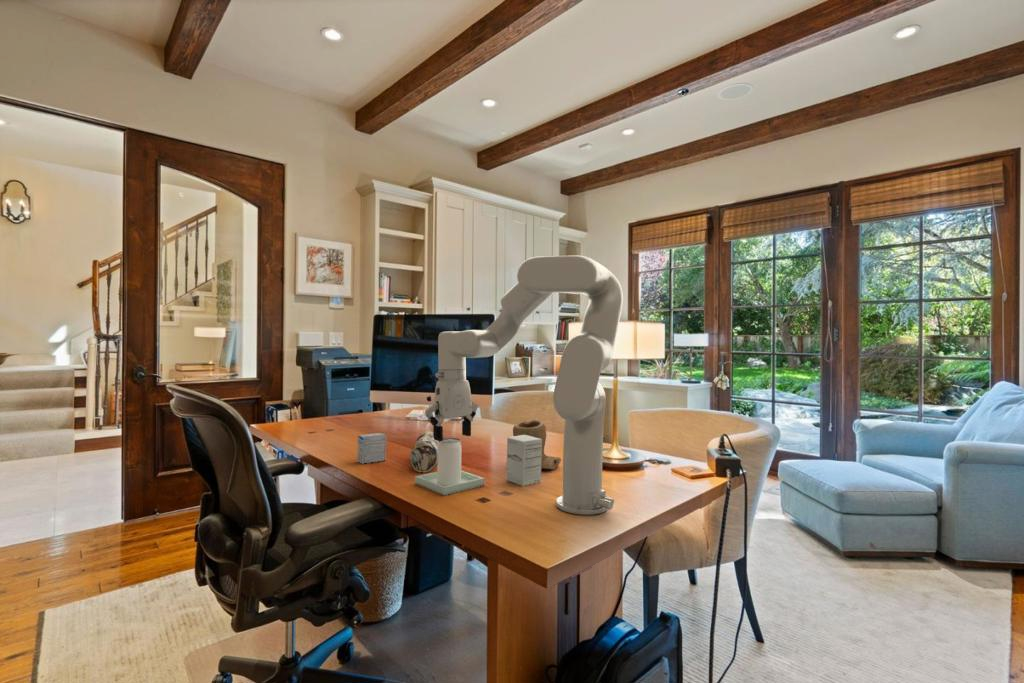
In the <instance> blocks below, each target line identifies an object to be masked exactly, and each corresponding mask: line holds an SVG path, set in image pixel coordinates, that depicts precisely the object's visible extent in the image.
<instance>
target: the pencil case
mask: <svg viewBox="0 0 1024 683" xmlns="http://www.w3.org/2000/svg"><path fill="white" fill-rule="evenodd" d="M415 441H416V442H415V445H414V446H413V447H412V448H411V450H410V453H409V459H410V462H411V466H412V468H413V469H414V470H415V471H416V472H418V473H421V472H423V473H422V474H426V473H425V472H427V473H430V472H431V471H433V469H435V467H436V466H437V465H438V445H439V443H440V441H437V440H434V436H433V431H432V430H427V431H424V432H423V433H422V434H420V435H418V436H417V438H416V440H415Z"/></svg>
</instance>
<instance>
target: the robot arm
mask: <svg viewBox="0 0 1024 683" xmlns="http://www.w3.org/2000/svg"><path fill="white" fill-rule="evenodd" d="M516 275H517V276H516V277H517V282H516V283H515V284H514V285H513V286H512V287H511V288H510V289H509V290H507V292H506V293H505V294H503V295H502V297H501V299H500V306H501V310H500V313H499V314H498V316H497V318H496V319H495V320H494V321H493V322H491V324H490V325H489V326H487V327H486V328H485V329H467V330H462V331H461V330H460V331H458V330H457V331H453V330H452V331H449V330H448V331H442V332H440V333H439V334H438V338H437V339H438V340H437V342H438V343H437V345H438V353H437V354H438V355H437V356H438V362H437V363H438V370H437V371H438V372H435V378H438V381H436V385H435V390H434V401H433V404H432V405H431V406H429V407H428V408H426V409H425V411H424V413H425V415H426V418H427V421H428V422H429V423H430V424H431V426H433V427H432V429H433V431H432V432H433V436H434V440H437V441H442V440H443V438H444V435H443V434H444V432H443V430H444V429H443V428H444V427H443V425H442V423H443V422H444V421H445V419H446V420H447V419H457V418H458V419H459V418H462V419H463V420H462V421H461V435H462V436H466V437H472V422H473V421H474V418H475V417H476V414H477V413H476V412H477V411H478V408H479V405H478V404H477V403H475V402H473V401H472V392H471V386H470V382H469V380H467V375H466V374H467V362H466V360H467V359H466V358H468V359H477V358H489V357H492V356H494V355H496V354H497V353H499V352H500V351H501V350H502V349H503V348H504V347H505V346H507V345H508V343H510V342H511V341H512V340H513V339H514V337H515V336H516V335H517V333H519V330H520V329H521V328H522V325H524V324H523V323H524V322H525V321H526V319H528V318H529V317H530V316H531V315H532V314H533V313H535V311H536V310H537V309H539V307H541V306H542V305H543V304H544V303H545V302H546V301H547V300H549V299H550V298H551V296H553V295H554V293H577V294H580V295H582V296H583V295H584V296H586V297H587V298H588V303H587V307H586V309H585V312H584V315H583V320H582V326H581V329H580V333H578V334H577V335H574V336H573V337H571V338H570V339H569V340H568V342H567V343H566V345H565V346H564V349H563V351H562V353H561V358H560V362H559V367H558V370H557V375H556V380H555V384H554V389H553V395H552V402H553V403H552V404H553V407H554V409H555V411H556V413H557V415H559V417H560V418H562V419H564V427H563V429H564V430H563V448H562V450H563V453H562V455H563V457H562V495H560V496H558V497H557V498H556V500H555V505H556V507H557V508H558V509H559V510H561V511H563V512H566V513H569V514H574V515H581V516H582V515H583V516H585V515H586V516H589V515H599V514H601V513H605V512H606V511H607V510H610V511H611V510H612V509H613V507H614V505H615V504H614V503H615V499H614V498H611V497H607V496H606V495H607V493H606V490H605V489H603V453H604V452H603V451H604V450H603V447H604V427H605V426H604V425H605V424H604V423H605V415H606V414H605V413H606V407H607V406H606V405H607V397H606V392H605V389H604V388H603V386H602V385H601V383H600V382H599V380H600V376H601V372H603V371H605V370H606V369H607V368H609V366H610V365H611V362H612V358H613V354H614V348H615V344H616V339H617V335H618V330H619V325H620V320H621V315H622V311H623V303H624V293H623V289H622V285H621V282H620V281H619V279H618V278H617V277H616V276H615V274H614V273H612V272H611V271H610V270H609V269H608V268H607V267H606V266H604V265H602V264H601V263H599V262H598V261H596V260H594V259H593V258H590V257H589V256H585V255H581V254H580V255H577V254H575V255H572V254H571V255H549V256H547V255H546V256H545V255H544V256H532V257H529V258H527V259H526V260H523V262H522V263H521V264H520V265H519V267H518V270H517V274H516ZM433 413H434V414H433Z"/></svg>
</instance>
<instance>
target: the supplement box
mask: <svg viewBox="0 0 1024 683" xmlns="http://www.w3.org/2000/svg"><path fill="white" fill-rule="evenodd" d="M506 439H507V440H506V441H507V445H506V448H507V449H506V453H507V454H506V474H505V475H506V479H505V480H506V482H507V481H508V482H511V483H513V484H516V485H519V486H521V487H526V486H525V485H527V486H530V485H529V484H531V485H534V484H533V483H536V484H539V483H538V482H540V483H542V469H541V457H542V439H539V438H536V437H532V436H528V435H519V436H513V435H512V436H508V437H507V438H506Z"/></svg>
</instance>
